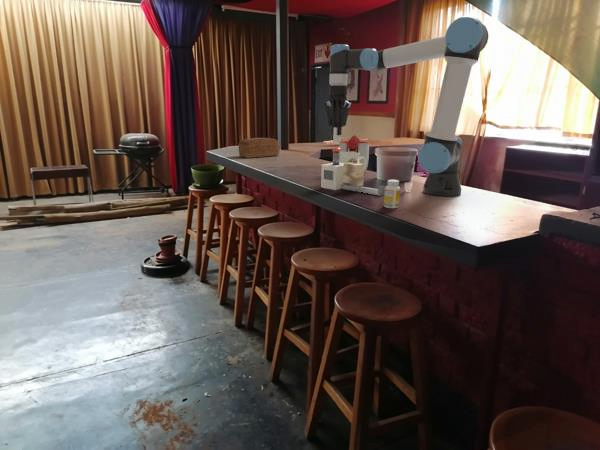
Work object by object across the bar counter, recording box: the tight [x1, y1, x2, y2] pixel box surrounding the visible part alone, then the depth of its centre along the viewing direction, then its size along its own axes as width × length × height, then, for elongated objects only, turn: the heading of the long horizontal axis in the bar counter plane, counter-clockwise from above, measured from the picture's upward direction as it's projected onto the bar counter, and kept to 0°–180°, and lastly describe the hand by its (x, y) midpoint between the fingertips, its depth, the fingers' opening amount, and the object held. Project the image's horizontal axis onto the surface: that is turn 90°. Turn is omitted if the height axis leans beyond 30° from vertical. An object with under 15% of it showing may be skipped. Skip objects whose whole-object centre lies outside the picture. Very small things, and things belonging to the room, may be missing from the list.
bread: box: [237, 137, 281, 159], centre depth 289 cm, size 14×28×12 cm, turn 126°
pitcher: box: [339, 152, 368, 173], centre depth 203 cm, size 11×18×14 cm, turn 112°
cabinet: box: [320, 162, 344, 191], centre depth 189 cm, size 8×10×10 cm
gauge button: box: [331, 147, 341, 165], centre depth 186 cm, size 4×4×7 cm
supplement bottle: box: [383, 179, 401, 209], centre depth 155 cm, size 5×5×10 cm
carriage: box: [343, 162, 365, 187], centre depth 182 cm, size 7×5×9 cm
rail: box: [340, 184, 386, 197], centre depth 180 cm, size 20×4×4 cm, turn 47°
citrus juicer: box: [338, 134, 371, 175], centre depth 219 cm, size 16×17×20 cm
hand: (336, 143), depth 185 cm, fingers closed
